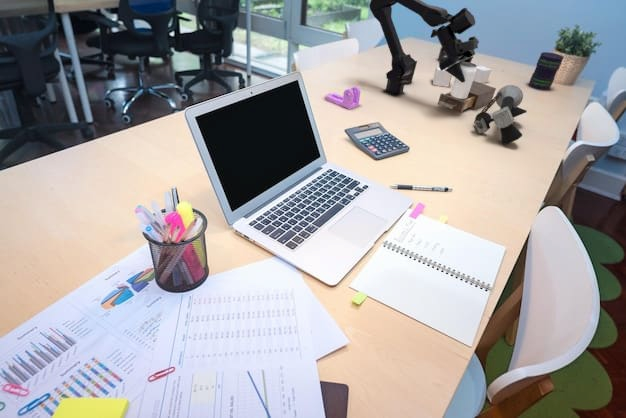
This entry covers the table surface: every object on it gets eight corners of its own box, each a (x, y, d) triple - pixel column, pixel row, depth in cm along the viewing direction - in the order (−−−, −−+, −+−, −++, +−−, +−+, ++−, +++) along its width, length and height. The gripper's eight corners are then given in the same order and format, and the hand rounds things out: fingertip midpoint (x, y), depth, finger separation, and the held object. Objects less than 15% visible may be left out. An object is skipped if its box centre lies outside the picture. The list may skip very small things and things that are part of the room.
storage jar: (523, 83, 193) (536, 52, 184) (539, 83, 196) (552, 52, 187) (538, 90, 185) (552, 58, 176) (554, 90, 188) (568, 58, 179)
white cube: (477, 78, 194) (481, 65, 190) (487, 82, 190) (491, 69, 186) (469, 79, 191) (473, 66, 188) (478, 83, 187) (482, 70, 184)
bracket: (358, 105, 152) (361, 88, 148) (349, 109, 148) (352, 91, 144) (332, 95, 158) (334, 78, 154) (323, 98, 155) (325, 81, 150)
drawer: (454, 115, 149) (458, 105, 146) (431, 106, 155) (434, 96, 152) (478, 105, 160) (481, 95, 158) (455, 97, 166) (458, 87, 163)
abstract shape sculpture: (490, 126, 160) (480, 154, 137) (477, 99, 157) (464, 122, 134) (530, 110, 150) (526, 136, 128) (517, 80, 147) (511, 102, 125)
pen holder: (389, 82, 178) (394, 59, 172) (394, 76, 185) (398, 54, 179) (410, 86, 175) (415, 63, 170) (413, 80, 183) (418, 58, 177)
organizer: (473, 110, 158) (478, 95, 154) (448, 100, 164) (452, 86, 161) (491, 102, 167) (496, 88, 164) (466, 93, 174) (471, 80, 170)
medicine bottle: (448, 87, 179) (456, 60, 172) (433, 85, 180) (440, 58, 172) (447, 82, 184) (455, 56, 177) (432, 80, 185) (439, 54, 178)
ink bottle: (456, 64, 210) (463, 41, 203) (440, 63, 210) (446, 39, 203) (451, 59, 218) (457, 36, 211) (435, 58, 218) (441, 35, 211)
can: (457, 92, 153) (467, 60, 146) (470, 98, 149) (481, 66, 142) (446, 94, 150) (456, 62, 143) (459, 100, 146) (470, 68, 139)
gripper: (457, 31, 131) (477, 73, 133) (478, 25, 143) (497, 64, 145) (430, 50, 140) (449, 89, 141) (452, 43, 152) (469, 79, 153)
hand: (467, 80), depth 145 cm, fingers closed on can, 6 cm apart
